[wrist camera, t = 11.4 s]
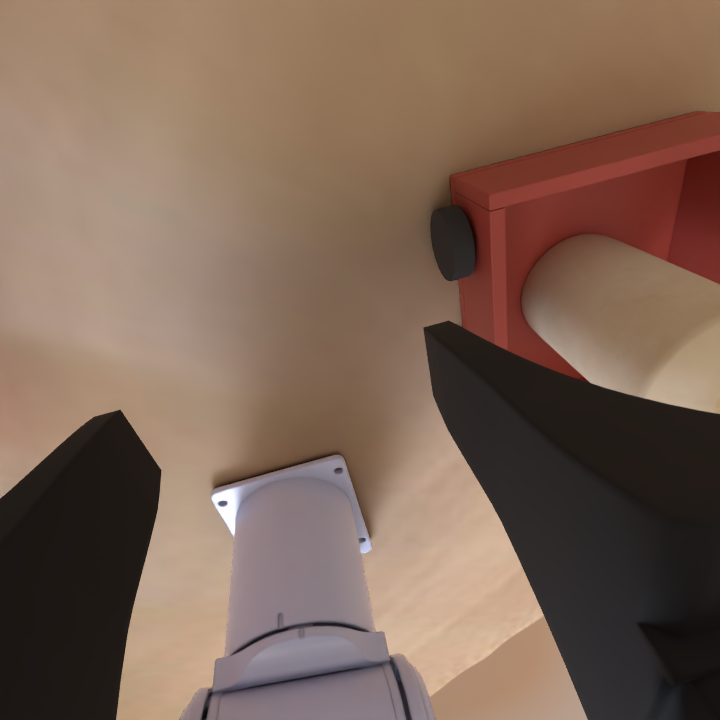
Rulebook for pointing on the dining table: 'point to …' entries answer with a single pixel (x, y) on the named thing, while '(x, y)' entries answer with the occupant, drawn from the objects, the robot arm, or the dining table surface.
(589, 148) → the cart
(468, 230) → the cart wheels
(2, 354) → the dining table surface
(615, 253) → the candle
